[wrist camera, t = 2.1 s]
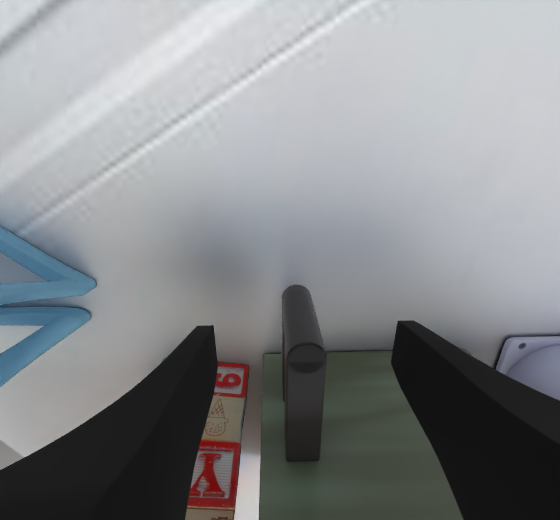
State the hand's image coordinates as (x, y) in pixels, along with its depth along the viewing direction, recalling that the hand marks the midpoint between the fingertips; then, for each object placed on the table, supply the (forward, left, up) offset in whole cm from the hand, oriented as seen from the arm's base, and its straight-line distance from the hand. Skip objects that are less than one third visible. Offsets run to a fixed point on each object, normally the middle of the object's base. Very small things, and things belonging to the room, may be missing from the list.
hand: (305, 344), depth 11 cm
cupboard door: (-5, +4, -7) cm, 10 cm away
